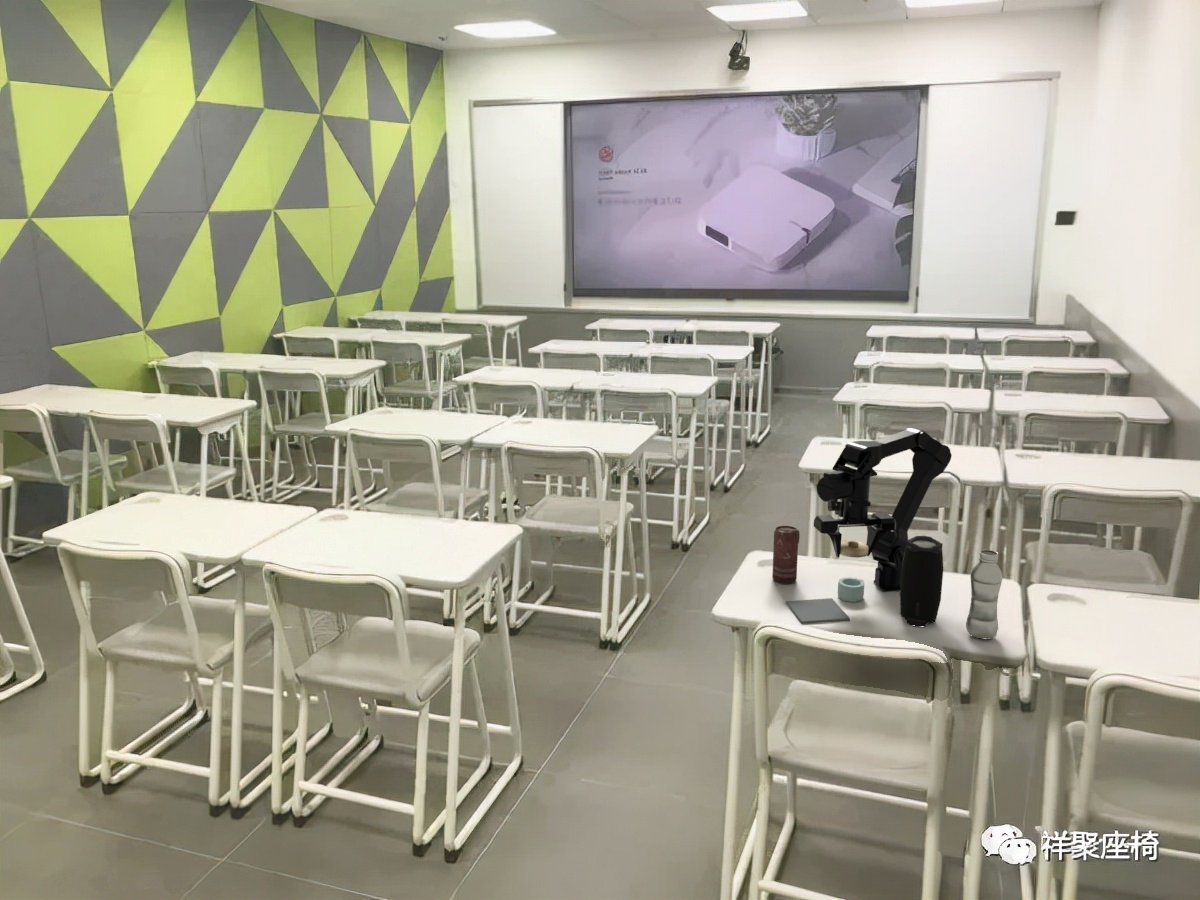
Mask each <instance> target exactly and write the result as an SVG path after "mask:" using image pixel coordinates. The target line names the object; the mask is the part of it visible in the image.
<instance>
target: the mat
mask: <svg viewBox="0 0 1200 900" xmlns="http://www.w3.org/2000/svg"><path fill="white" fill-rule="evenodd" d="M785 604H786V606H787V607H788V608H789V609H790V611H791V612H792V613H793V614H794V616H795V617H796V619H797V620H798V621H799V622H800V623H801V624H802V625H804V624H818V623H834V622H850V621H851V617H850V616H849V615H848V614H847V613H846V612H845V611H844V610H843V609H842V608H841V606H839V604H838V603H837V602H836V601H835V600H834V598H832V597H831V598H829V597H828V598H817V599H816V598H813V599H801V600H799V599H798V600H786V601H785Z"/></svg>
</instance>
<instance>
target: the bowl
mask: <svg viewBox="0 0 1200 900" xmlns="http://www.w3.org/2000/svg"><path fill="white" fill-rule="evenodd" d="M864 596H865V582H864V580H862V579H860V578H857V577H842V578H839V579H838V582H837V598H838V599H839V600H841V601H843V602H846V603H847V602H848V603H859V602H862V601H864Z"/></svg>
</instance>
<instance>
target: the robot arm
mask: <svg viewBox="0 0 1200 900" xmlns="http://www.w3.org/2000/svg"><path fill="white" fill-rule="evenodd" d="M844 446H845V447H844V448H843V449H842V450H841V451H842V452H840V455H839V456H838V458H837V460H836V462H835V463H834V465H833V466H832V471H826V472H825V471H824V472H823V477H821V478H820V479H818V482H817V484H816V492H817V495H818V497H819V499H821V501H823V502H827V511H828V512H834V515H835V516H838V517H840V518H834V517H833V516H832V515H830V514H827V515H823V514H822V515H816V516H815V518H814V519H813V527H814V528H815V529H816V530H817V531H818V532H819V533H820V534H824V535H828V536H829V539H830V540H831V543H832V547H833V550H834V552H835V553H834V554H835V557H836V558H840V555H841V554H840V550H841V542H842V532H840V528H851V527H866V531H867V537H866V542H865V544H866V545H868V547H869V549H868V555H867V556H866V557H869V556H870V555H871V556H872V560H873V561H877V567H875V574H874V579H873V584H875V585H876V586H877V587H878V588H879V589H880V590H881V591H882V592H900V585H901V571H902V561H903V557H904V552H905V547H906V543H907V540H909V533H908V531H909V529H910V526H911V525H912V523H913V521H914V519H915V516H916V515H917V513H918V510H919V509H920V507H921V504H922V502H923V500H924V498H925V495H926V493H927V492H928V489H929V488H930V485H931V484H932V481H933V480H934V479H936V478H937V477H938V476H940V475H942V474H943V473H944V471H945V470H946V468H947V467H948V465H949V464H950V462H951V460H952V452H951V448H950V447H949V445H946V444H943V443H942V442H940V441H938V440H936V439H934V437H932V436H930V434H929V433H927V432H926V431H925V430H922V429H919V428H915V427H908V428H906V429H905V430H903V431H900V432H897V433H894V434H890V435H888V436H887V435H886V436H884V437H881V438H878V439H875V440H856V441H855V440H853V441H849V442H847V444H845V445H844ZM908 450H909V451H911V452H912V453H913V456H912V460H911V461H912V463H911V464H912V473H911V475H910V477H909V479H908V481H907V483H906V486H905V488H904V490H903V492H902V494H901V496H900V498H899V500H898V502H897V504H896V507H895V509H894V510H893V512H892V514H891V515H890V514H889V513H888V512H873V513H872V514H871V517H868V514H869V507H871V505H872V504H871V503H872V502H871V501H870V487H871V485H870V484H871V477H875V476H876V477H877V476H878V472H876V470H874V468H875V467H877V466H879V465H880V463H881V462H882V460H883V459H885V458H888V457H891V456H894V455H896V454H899V453H903V452H905V451H908ZM839 500H840V501H839Z"/></svg>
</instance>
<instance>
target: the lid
mask: <svg viewBox="0 0 1200 900" xmlns="http://www.w3.org/2000/svg"><path fill="white" fill-rule="evenodd" d="M868 549H869V547H868V545H866V543H865V542H862V541H856V540H843V541H841V550H840V555H841V556H844V557H849V558H856V559H857V558H865V557H868V556H867V555H868Z"/></svg>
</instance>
